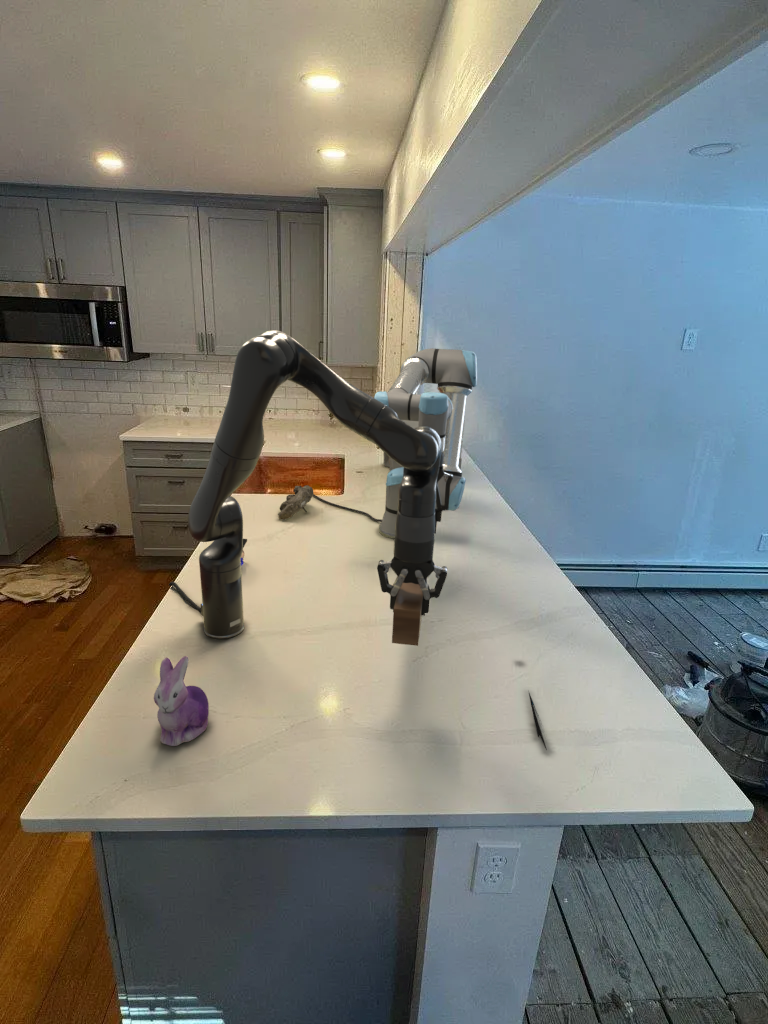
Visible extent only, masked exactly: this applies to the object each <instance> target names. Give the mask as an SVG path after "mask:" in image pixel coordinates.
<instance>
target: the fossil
mask: <svg viewBox="0 0 768 1024" xmlns="http://www.w3.org/2000/svg"><path fill="white" fill-rule="evenodd" d="M293 493H294V494H292V493H291V494H288V495H286V500H285V501H283V502H282V503H281V504H280V506H279V511H280V512H278V514H277V515H278V519H279V520H282V521H285V520H288V519H291V518H292V517H294V516H295V515H296V514H298V513H299V512H300V511H302V510H304V512H305V513H308V511H307V510H306V508H305V506H306V505H307V504H308V503H309V502H311V500H312V498H314V496H313V495H315V493H314V489H313V487H312V486H309V485H308V484H307V485H306V484H305V485H304V486H302V485H295V486H294V488H293Z"/></svg>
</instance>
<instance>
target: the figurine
mask: <svg viewBox="0 0 768 1024" xmlns="http://www.w3.org/2000/svg"><path fill="white" fill-rule="evenodd" d="M188 666H189V656H187V655H184V656H183V657H181V658H180V660H178V662H177V663H176V664H175V666H173V663H172V661H171V659H170V658H169V657H164V658H163V659H162V660H161V663H160V667H159V683H158V685H157V687H156V689H155V691H154V694H153V702H154V704H155V705H156V706H157V707H158V710H157V721H158V724H159V726H160V729H161V733H160V738H159V739H160V743H161V744H163V745H167V746H170V747H177V746H179V745H181V744H182V743H188V742H191V741H192V740H195V739H196V738H197V737H199V736H200V735H202V734H203V733H204V731H206V730H207V728H208V725H209V714H210V713H209V711H210V710H209V708H210V707H209V706H210V704H209V699H208V696H207V694H206V692H205V691H204V690H203V689H202V688H201V687H199V686H197V685H186V683H185V676H186V674H187V670H188Z"/></svg>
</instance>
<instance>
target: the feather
mask: <svg viewBox="0 0 768 1024" xmlns="http://www.w3.org/2000/svg"><path fill="white" fill-rule="evenodd" d="M528 696H529V701H530V706H531V712H532V716H533V717H532V718H533V722H534V726H535V729H536V734H537V738H540V739H541V743H542V744H543V747H544V748H545V750H546V751H547V750H548V749H547V746H546V742H545V739H544V736H543V733H542V731H544V728H543V727H544V725H543V723H542V721H541V718H540V717H539V713H538V711H537V709H536V706H535V703H534V701H533V698H532V696H531V693H530V691H529V689H528ZM541 728H542V729H541ZM545 738H548V737H547V735H545ZM538 740H539V739H538Z"/></svg>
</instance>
